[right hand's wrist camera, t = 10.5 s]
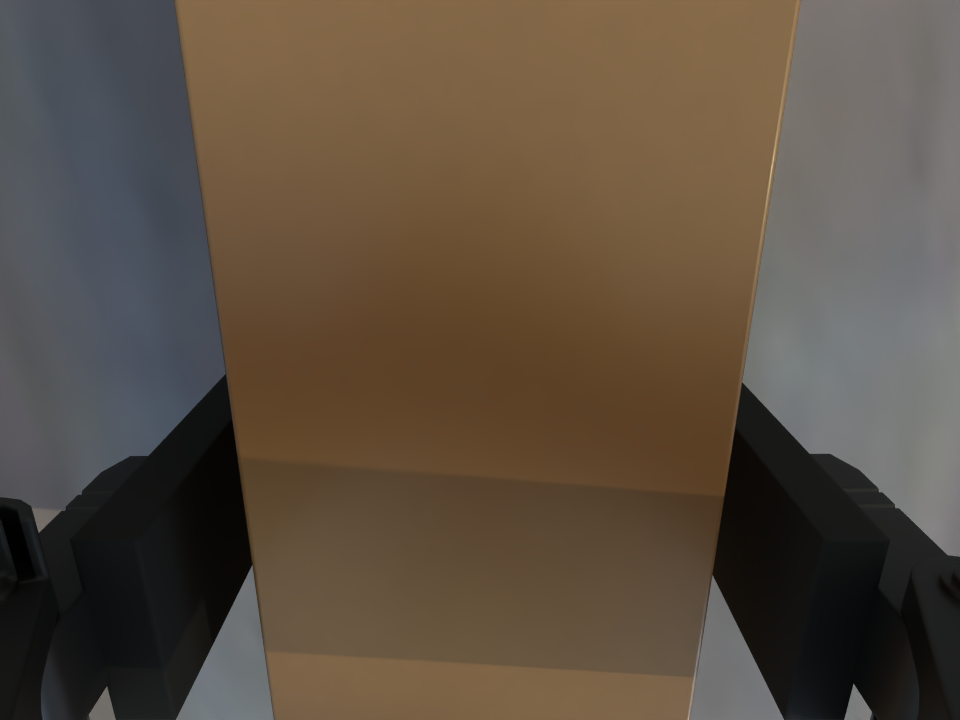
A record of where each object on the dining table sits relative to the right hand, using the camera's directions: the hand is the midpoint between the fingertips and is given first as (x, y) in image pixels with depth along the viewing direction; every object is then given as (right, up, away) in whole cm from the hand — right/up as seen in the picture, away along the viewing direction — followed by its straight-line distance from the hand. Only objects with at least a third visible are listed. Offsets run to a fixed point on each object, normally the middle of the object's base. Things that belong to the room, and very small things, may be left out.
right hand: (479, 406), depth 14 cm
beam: (0, +28, -8) cm, 29 cm away
